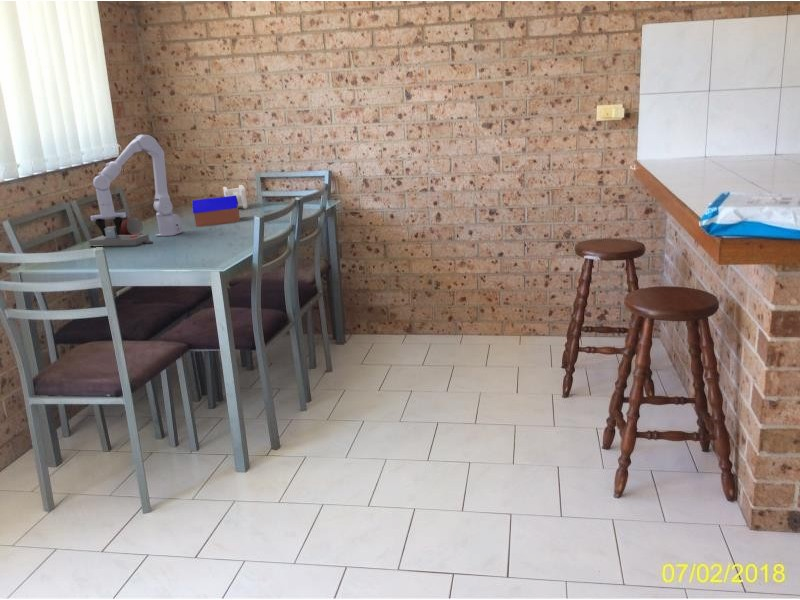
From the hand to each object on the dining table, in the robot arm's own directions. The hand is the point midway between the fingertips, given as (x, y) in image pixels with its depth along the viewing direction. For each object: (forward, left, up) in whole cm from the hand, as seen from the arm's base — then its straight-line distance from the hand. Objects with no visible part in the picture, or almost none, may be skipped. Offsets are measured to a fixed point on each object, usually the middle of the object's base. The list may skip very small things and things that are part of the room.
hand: (112, 235), depth 320 cm
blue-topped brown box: (-26, -43, -4) cm, 50 cm away
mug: (+10, -18, -2) cm, 20 cm away
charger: (0, 0, -3) cm, 3 cm away
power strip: (-5, 0, -4) cm, 7 cm away
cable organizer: (-16, -77, -4) cm, 79 cm away
